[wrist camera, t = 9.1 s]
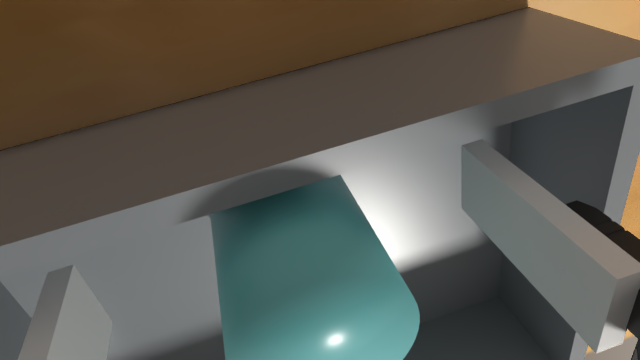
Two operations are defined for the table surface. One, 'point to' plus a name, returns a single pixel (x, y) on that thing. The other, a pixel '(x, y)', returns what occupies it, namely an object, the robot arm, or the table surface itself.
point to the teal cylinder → (309, 280)
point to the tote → (325, 162)
